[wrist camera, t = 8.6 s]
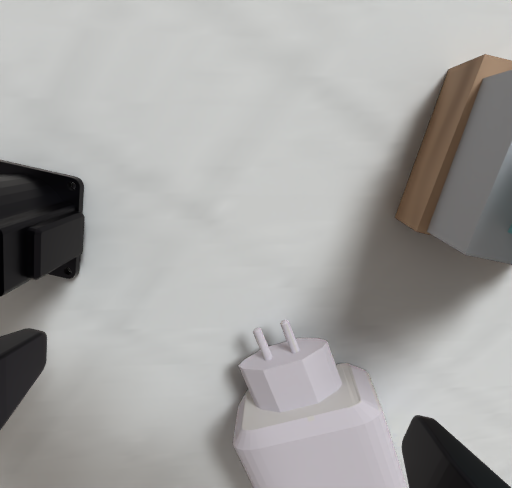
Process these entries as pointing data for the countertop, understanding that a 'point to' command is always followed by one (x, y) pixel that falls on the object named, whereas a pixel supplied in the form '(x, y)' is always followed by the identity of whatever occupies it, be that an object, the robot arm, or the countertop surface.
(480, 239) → the tower top
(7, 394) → the robot arm
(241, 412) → the charger
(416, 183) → the tower base
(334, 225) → the countertop surface
